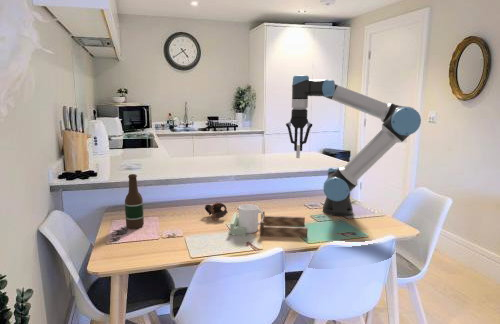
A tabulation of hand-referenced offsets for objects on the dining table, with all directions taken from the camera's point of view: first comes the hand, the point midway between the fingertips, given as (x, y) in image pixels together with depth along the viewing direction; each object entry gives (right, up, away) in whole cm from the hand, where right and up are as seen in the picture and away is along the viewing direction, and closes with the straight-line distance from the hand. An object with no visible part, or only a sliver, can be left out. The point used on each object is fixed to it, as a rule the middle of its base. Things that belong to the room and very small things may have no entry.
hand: (297, 157), depth 174 cm
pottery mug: (-40, -29, +2) cm, 50 cm away
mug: (-23, -33, -14) cm, 42 cm away
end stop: (-28, -32, -14) cm, 45 cm away
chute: (-9, -32, -15) cm, 37 cm away
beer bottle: (-76, -31, -12) cm, 83 cm away
